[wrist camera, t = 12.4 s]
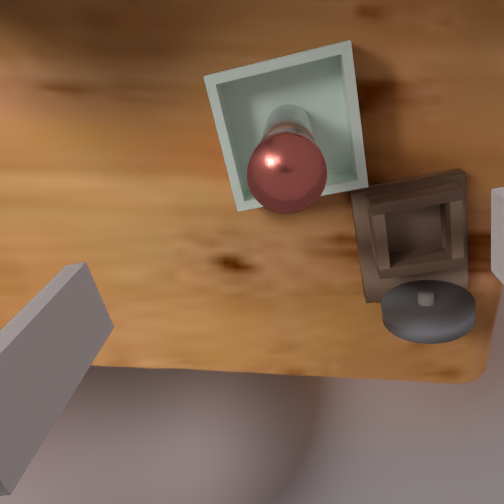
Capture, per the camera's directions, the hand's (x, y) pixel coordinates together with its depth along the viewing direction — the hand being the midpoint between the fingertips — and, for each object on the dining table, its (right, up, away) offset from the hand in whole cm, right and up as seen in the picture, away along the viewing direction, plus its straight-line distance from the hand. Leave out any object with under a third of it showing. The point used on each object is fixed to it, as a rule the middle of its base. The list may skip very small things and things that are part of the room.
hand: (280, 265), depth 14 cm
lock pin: (+2, +11, +24) cm, 27 cm away
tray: (+2, +12, +25) cm, 28 cm away
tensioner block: (+15, +2, +29) cm, 32 cm away
